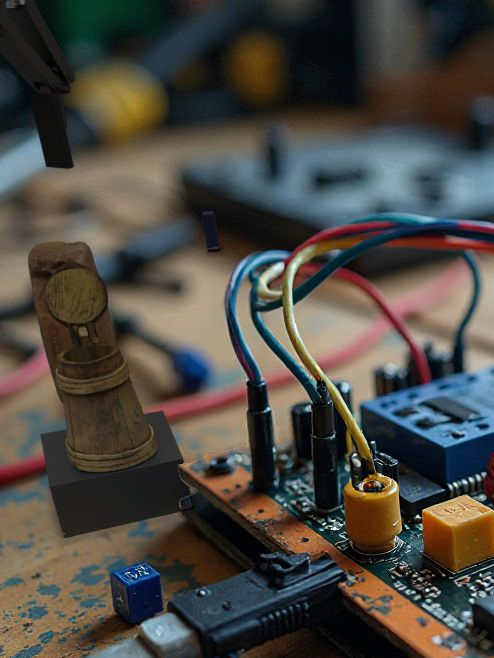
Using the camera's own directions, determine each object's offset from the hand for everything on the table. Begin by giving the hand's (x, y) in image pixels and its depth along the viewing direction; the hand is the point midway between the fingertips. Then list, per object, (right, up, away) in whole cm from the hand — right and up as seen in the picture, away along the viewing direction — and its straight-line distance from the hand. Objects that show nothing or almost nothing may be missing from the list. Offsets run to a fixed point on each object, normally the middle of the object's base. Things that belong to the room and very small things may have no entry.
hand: (10, 184), depth 98 cm
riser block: (+4, -28, +18) cm, 33 cm away
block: (-7, -16, +39) cm, 43 cm away
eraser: (-8, +17, +95) cm, 97 cm away
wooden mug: (+4, -23, +15) cm, 28 cm away
